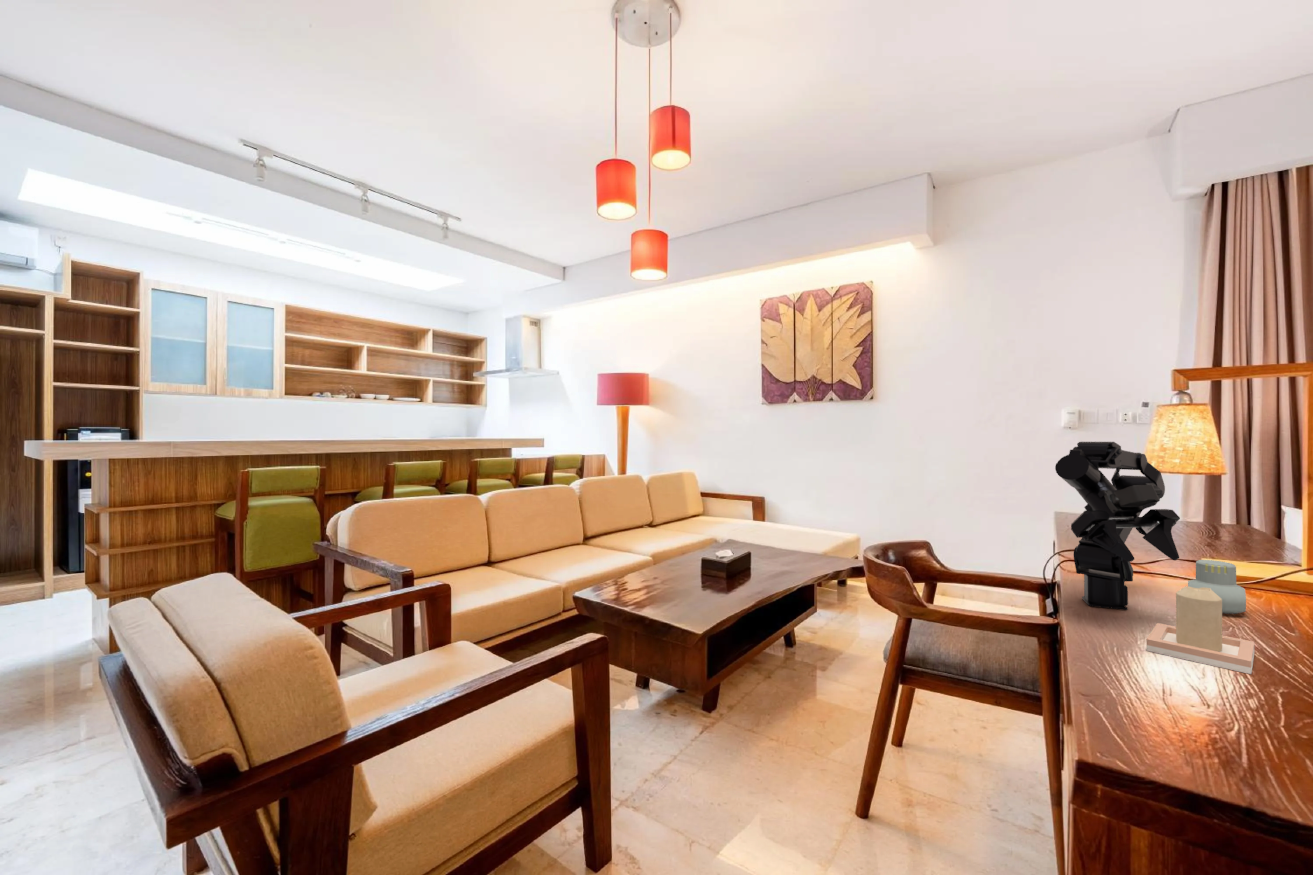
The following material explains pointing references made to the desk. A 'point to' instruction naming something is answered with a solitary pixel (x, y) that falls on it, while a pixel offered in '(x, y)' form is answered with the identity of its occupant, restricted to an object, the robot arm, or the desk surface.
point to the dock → (1203, 650)
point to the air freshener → (1221, 584)
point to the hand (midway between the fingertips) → (1154, 559)
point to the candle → (1199, 618)
